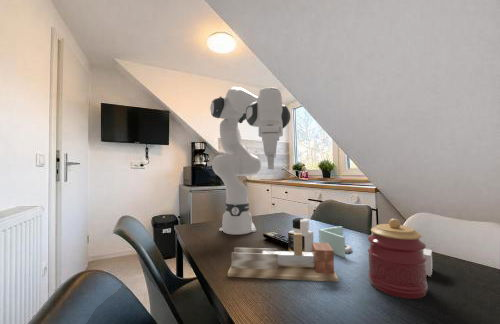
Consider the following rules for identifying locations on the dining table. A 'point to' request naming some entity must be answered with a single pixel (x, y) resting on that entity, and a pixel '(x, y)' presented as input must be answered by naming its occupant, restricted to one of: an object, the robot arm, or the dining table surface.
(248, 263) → the stand
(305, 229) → the medicine bottle
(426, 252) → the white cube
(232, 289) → the dining table surface
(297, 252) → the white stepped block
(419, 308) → the dining table surface
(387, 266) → the canister
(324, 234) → the right angle wall
